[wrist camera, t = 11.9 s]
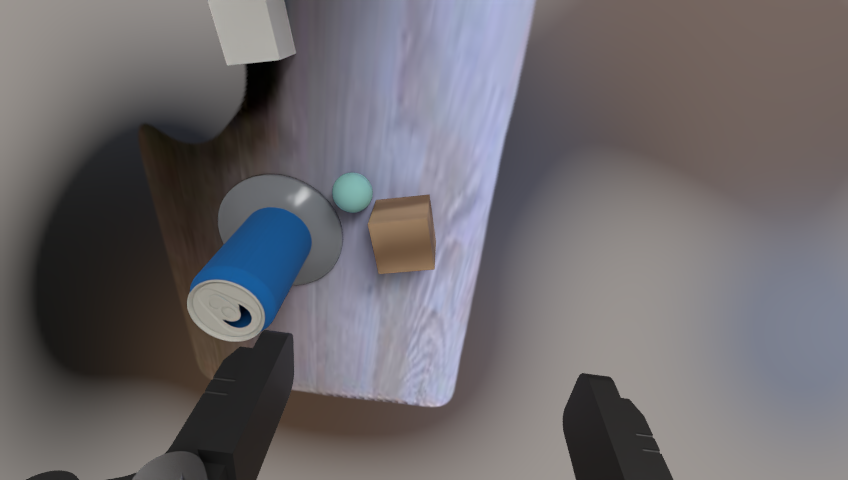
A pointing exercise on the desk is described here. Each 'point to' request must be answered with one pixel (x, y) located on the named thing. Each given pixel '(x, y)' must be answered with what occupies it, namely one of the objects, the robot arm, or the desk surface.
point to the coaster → (296, 200)
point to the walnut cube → (403, 234)
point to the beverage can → (250, 275)
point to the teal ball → (352, 192)
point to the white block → (252, 30)
